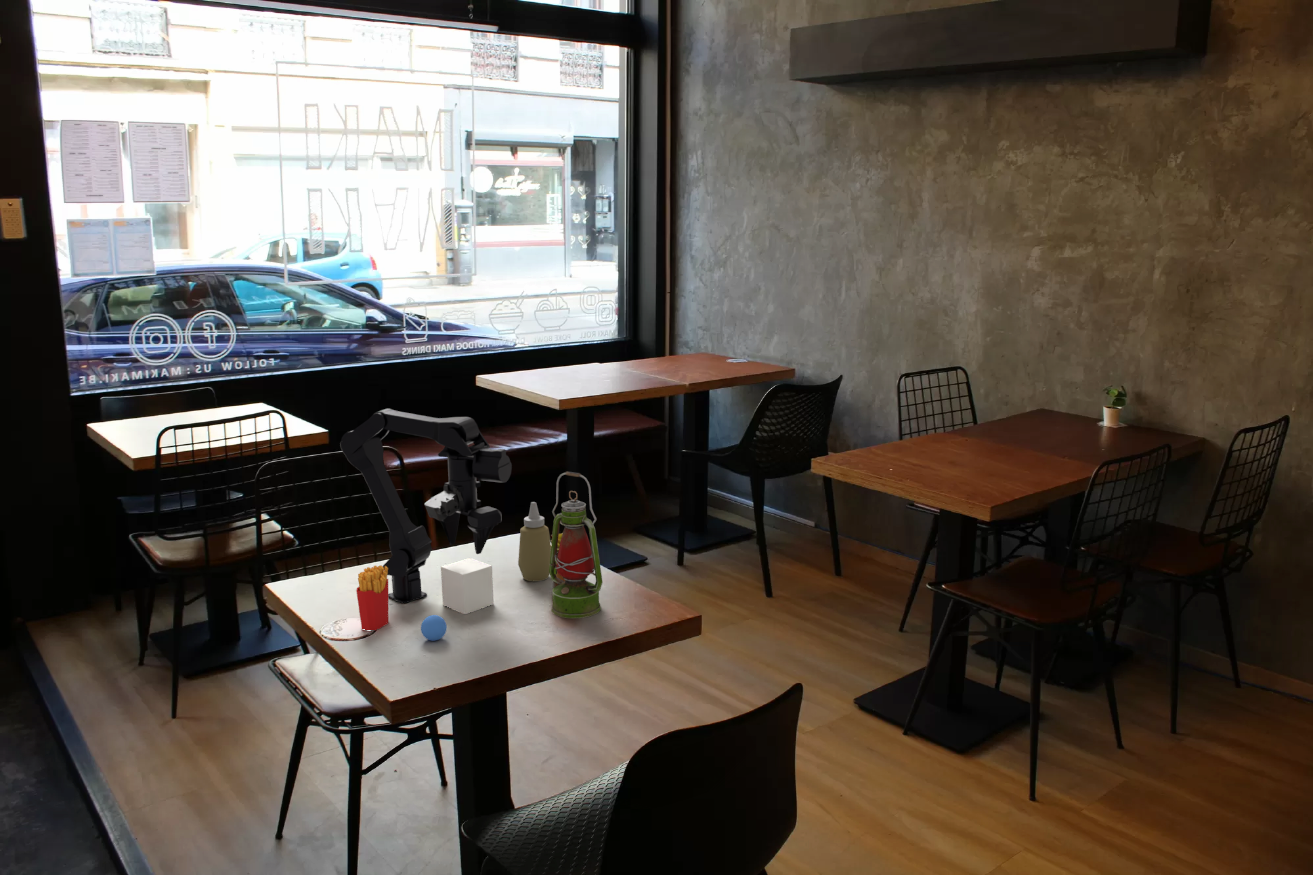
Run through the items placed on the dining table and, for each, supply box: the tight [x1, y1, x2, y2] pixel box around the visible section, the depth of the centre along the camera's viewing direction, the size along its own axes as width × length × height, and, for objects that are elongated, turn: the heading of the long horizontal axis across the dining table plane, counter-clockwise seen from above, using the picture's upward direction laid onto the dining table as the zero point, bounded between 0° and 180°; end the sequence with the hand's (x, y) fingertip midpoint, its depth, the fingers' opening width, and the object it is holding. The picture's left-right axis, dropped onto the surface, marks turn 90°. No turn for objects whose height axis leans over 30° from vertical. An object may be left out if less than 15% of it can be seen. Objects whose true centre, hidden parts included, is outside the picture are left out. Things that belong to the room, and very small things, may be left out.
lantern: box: [549, 471, 603, 619], centre depth 222 cm, size 14×11×30 cm
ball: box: [420, 614, 447, 642], centre depth 209 cm, size 5×5×5 cm
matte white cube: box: [440, 557, 495, 615], centre depth 227 cm, size 8×8×9 cm
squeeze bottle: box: [517, 501, 552, 582], centre depth 242 cm, size 8×8×18 cm
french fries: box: [355, 564, 390, 631], centre depth 216 cm, size 8×4×12 cm, turn 158°
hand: (465, 548), depth 225 cm, fingers open, 9 cm apart
